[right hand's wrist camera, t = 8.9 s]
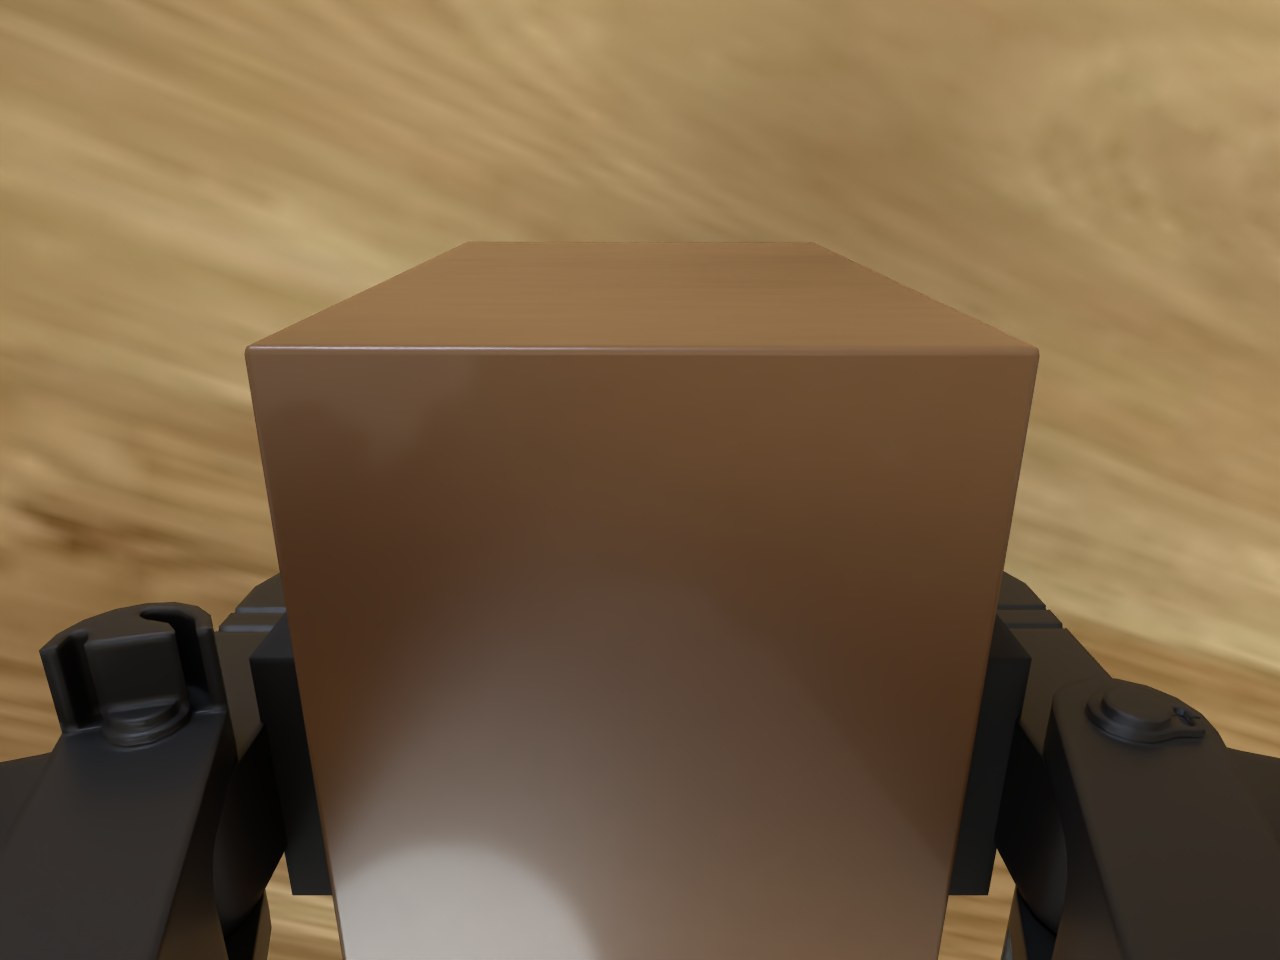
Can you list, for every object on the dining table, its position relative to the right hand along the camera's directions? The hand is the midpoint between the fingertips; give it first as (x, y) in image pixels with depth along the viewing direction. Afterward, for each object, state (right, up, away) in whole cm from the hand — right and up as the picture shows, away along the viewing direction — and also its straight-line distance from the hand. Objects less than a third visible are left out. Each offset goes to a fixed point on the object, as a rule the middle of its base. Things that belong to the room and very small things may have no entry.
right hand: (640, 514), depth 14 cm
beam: (0, -24, +9) cm, 25 cm away
